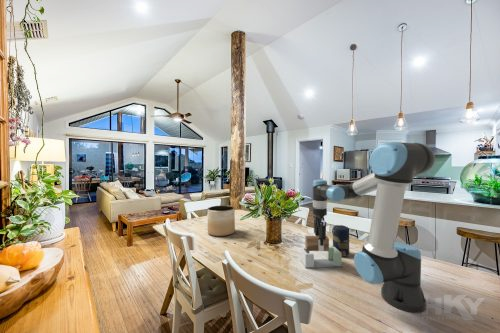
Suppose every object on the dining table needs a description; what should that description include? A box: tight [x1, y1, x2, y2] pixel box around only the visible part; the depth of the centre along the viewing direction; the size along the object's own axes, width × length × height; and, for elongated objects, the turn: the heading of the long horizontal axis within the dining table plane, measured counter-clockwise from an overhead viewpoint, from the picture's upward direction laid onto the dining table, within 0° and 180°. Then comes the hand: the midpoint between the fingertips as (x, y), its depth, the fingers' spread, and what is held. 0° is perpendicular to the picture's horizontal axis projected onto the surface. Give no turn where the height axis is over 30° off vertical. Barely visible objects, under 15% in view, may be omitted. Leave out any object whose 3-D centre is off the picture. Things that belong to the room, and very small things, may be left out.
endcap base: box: [300, 247, 343, 269], centre depth 122 cm, size 9×20×7 cm, turn 92°
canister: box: [332, 224, 350, 257], centre depth 134 cm, size 10×10×18 cm
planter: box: [207, 204, 236, 237], centre depth 176 cm, size 22×22×20 cm
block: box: [304, 235, 330, 252], centre depth 122 cm, size 4×12×7 cm, turn 88°
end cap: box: [326, 246, 343, 266], centre depth 122 cm, size 9×4×7 cm, turn 2°
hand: (319, 248), depth 122 cm, fingers closed on block, 4 cm apart
